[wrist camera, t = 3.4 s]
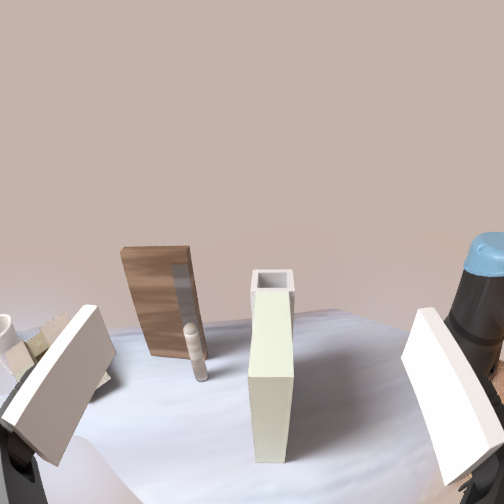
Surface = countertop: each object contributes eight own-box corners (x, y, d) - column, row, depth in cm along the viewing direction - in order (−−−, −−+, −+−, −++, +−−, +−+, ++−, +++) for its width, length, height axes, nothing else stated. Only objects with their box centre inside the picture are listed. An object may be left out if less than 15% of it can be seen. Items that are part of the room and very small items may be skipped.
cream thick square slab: (289, 462, 28) (302, 376, 20) (250, 462, 28) (239, 376, 21) (288, 368, 43) (292, 269, 35) (257, 368, 44) (253, 269, 36)
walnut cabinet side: (206, 382, 41) (183, 268, 33) (142, 375, 42) (103, 268, 33) (213, 353, 47) (196, 245, 38) (153, 349, 48) (124, 246, 39)
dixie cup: (2, 360, 40) (-20, 322, 36) (31, 347, 45) (11, 309, 41) (4, 385, 34) (-22, 345, 30) (35, 371, 39) (11, 330, 35)
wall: (117, 379, 45) (72, 315, 47) (113, 377, 38) (63, 301, 40) (55, 425, 36) (12, 357, 37) (42, 430, 29) (-6, 350, 30)
